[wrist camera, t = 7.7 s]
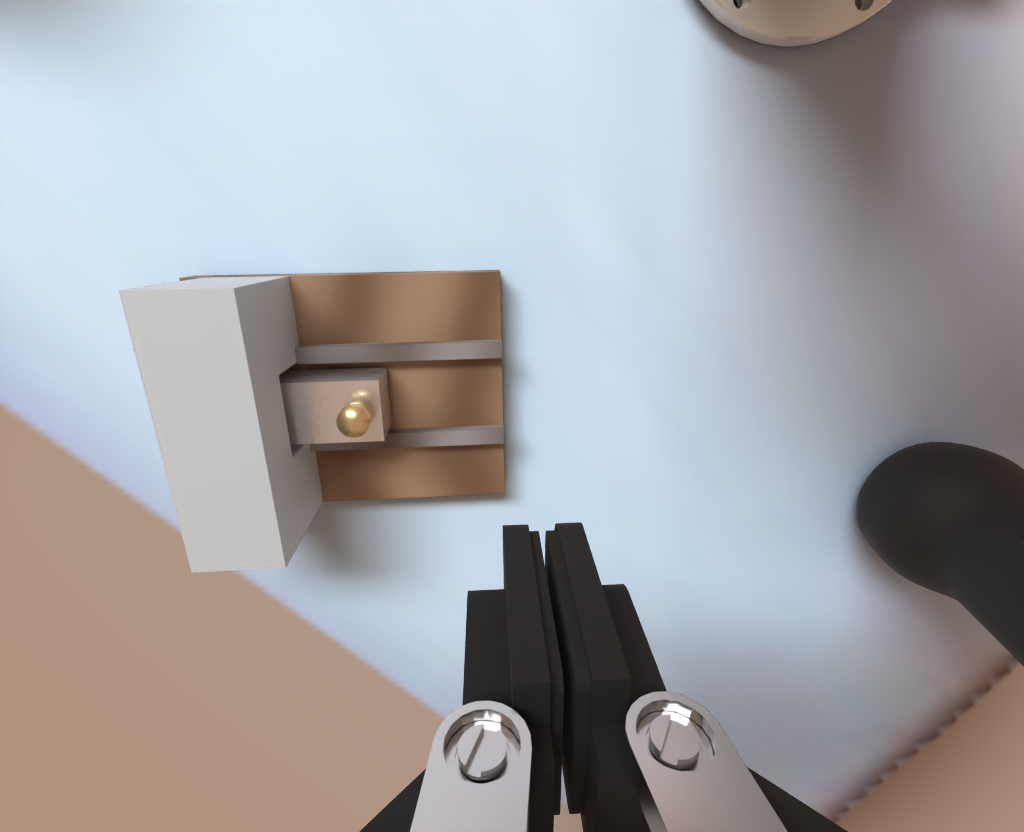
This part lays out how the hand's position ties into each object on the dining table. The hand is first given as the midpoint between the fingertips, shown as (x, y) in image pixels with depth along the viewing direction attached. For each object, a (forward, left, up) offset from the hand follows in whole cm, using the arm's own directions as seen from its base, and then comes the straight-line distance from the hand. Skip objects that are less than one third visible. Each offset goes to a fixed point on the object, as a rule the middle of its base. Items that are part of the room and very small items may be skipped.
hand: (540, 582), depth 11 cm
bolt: (+10, +1, -16) cm, 19 cm away
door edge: (+12, +1, -17) cm, 21 cm away
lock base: (+7, +1, -18) cm, 20 cm away
